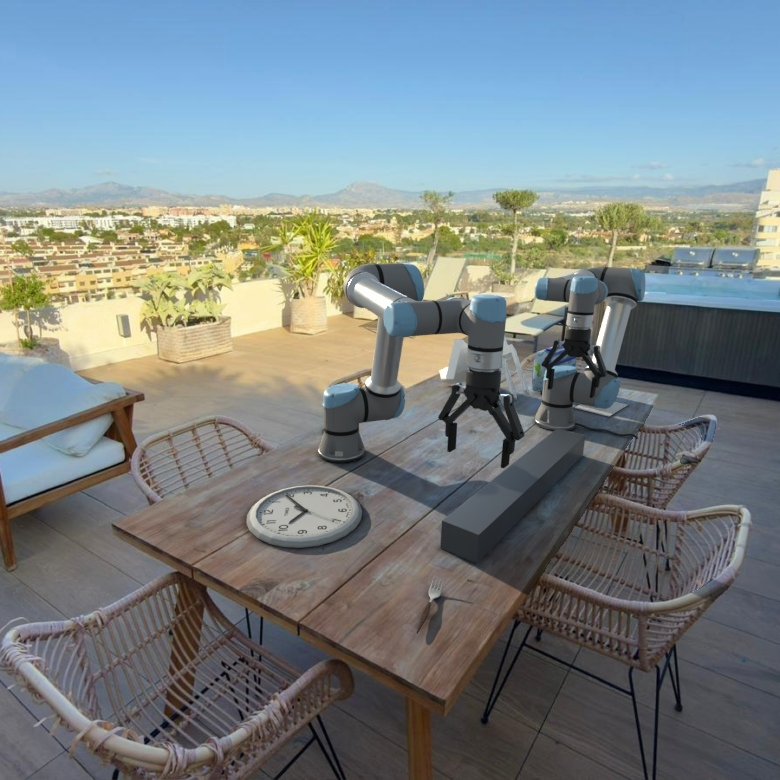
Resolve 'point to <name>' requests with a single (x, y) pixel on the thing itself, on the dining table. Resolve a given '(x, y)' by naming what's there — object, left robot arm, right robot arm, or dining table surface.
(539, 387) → the lunch box
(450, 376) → the white plastic object
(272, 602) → the dining table surface
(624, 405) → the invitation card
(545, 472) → the wide beam
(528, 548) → the dining table surface
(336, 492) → the wall clock
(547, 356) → the right robot arm
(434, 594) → the fork
